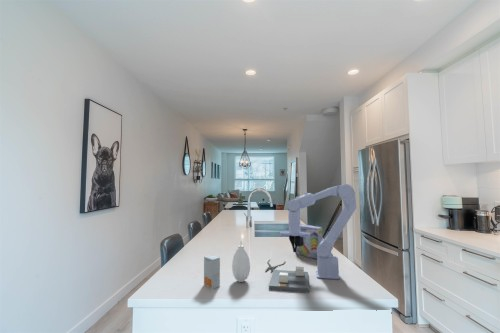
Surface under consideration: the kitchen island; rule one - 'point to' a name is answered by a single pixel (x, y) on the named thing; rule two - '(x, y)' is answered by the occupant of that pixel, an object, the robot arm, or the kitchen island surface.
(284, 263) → the pliers
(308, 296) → the kitchen island surface
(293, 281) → the panel
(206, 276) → the skincare box
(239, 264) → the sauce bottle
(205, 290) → the kitchen island surface
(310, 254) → the cake pan box
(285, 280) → the white rectangular block
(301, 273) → the far tab
